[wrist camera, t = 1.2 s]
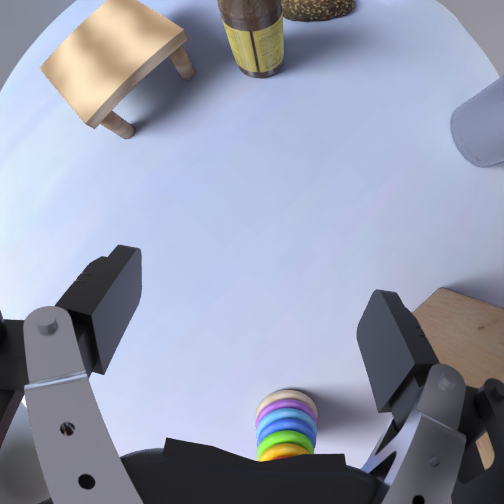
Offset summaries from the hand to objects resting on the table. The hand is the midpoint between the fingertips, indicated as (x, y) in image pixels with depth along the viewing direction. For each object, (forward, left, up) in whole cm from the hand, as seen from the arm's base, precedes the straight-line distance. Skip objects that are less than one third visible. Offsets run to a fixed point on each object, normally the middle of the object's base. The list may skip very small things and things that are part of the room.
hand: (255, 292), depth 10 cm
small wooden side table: (-3, -30, -26) cm, 39 cm away
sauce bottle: (-16, -19, -26) cm, 36 cm away
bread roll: (-31, -23, -26) cm, 47 cm away
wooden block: (-7, +22, -26) cm, 35 cm away
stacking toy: (+13, +16, -26) cm, 33 cm away
